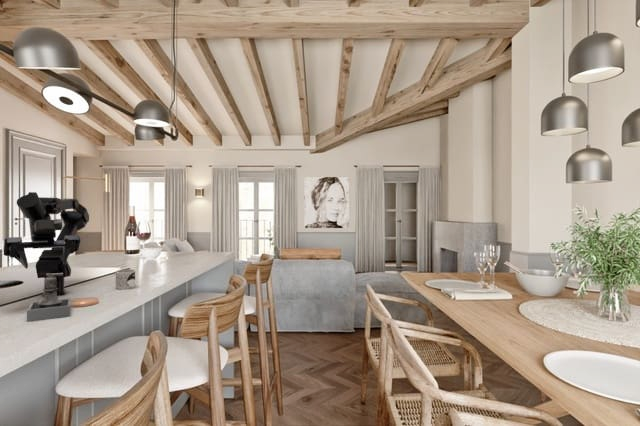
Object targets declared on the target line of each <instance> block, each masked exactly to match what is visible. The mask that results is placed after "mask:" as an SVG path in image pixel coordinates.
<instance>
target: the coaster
mask: <svg viewBox="0 0 640 426" xmlns="http://www.w3.org/2000/svg"><path fill="white" fill-rule="evenodd" d="M99 303H100V302H99V298H98V297H80V298H75V299H71V308H85V307H90V306H91V307H92V306H95V305H97V304H99Z"/></svg>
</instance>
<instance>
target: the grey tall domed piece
mask: <svg viewBox="0 0 640 426" xmlns="http://www.w3.org/2000/svg"><path fill="white" fill-rule="evenodd" d="M49 275H50V276H48V277H46V278H44V280H43V289H42V291H43V292H44V296H43V299H42V300H41V301H38V302H39V303H38V305H39V308H40V309H41V308H50V307H59V306H61V304H62V302H63V300H61V299H59V298H58V295H57V289H58V288H57V279H56V277H54V276H51V275H52V274H51V273H50V274H49Z"/></svg>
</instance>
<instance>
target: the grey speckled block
mask: <svg viewBox="0 0 640 426" xmlns="http://www.w3.org/2000/svg"><path fill="white" fill-rule="evenodd" d="M135 288H136V270H135V269H120V270H116V271H115V290H118V291H126V290H127V291H128V290H133V289H135Z"/></svg>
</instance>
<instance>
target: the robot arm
mask: <svg viewBox="0 0 640 426" xmlns="http://www.w3.org/2000/svg"><path fill="white" fill-rule="evenodd" d="M16 205H17V207H18V208H19V210H20V211H21V213H22V215H23V216H24V218H26V219H28V223H29V232H30V240H23V239H22V238H23V237H22V236H16V237H15V236H12V237H6V238H4V240H3V248H2V250H3V251H2V252H3V256H6V257H10V258H14V259H15V260H17V261H18V262H19V263H20V264H21V265H22V266H23V267H24V268H25V269H27V270H28V268H29V266H28V265H29V263H28V258H27V256H26V250H25V249H43V251H42V252H41V254H40V256H39V257H38V260H37V261H36V262H35V272H36V275H37V279H42V278H44V279H45V278H46V277H48V276H50V275H49V274H50V273H51V274H52V275H51V276H54V277H56V279H57V288H58V289H57V296H59V295H60V296H61V295H66V293H67V290H66V289H65V278H68V277H71V274H72V268H71V266H70V264H69V262H68V259H69V257H70V255H73V254H74V253H76V252H78V251H79V249H80V244H81V237H80V236H79V235H78V234H77V233H78V232H79V231H80V230H82V229H84V228H85V227H86V226H87V224H88V223H89V221H90V215H89V211H88V209H87V208H86V207H85V206H83V204H81V203H80V202H79V200H78V198H77V199H76V198H63V199H62V198H59V197H44V196H43V197H39V195H38V193H37V191H36V192H35V191H34V192H32V191H30V192H28V193H27V194H26V195H22V196H21V197H19V198H18V199H17V200H16ZM58 214H59V216H60V218H55V219H52V217H51V215H58ZM56 231H60V233H59V234H58V236H57V238H56ZM55 238H56V240H55ZM41 295H42V297H44V291H43V293H42V294H41Z"/></svg>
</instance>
